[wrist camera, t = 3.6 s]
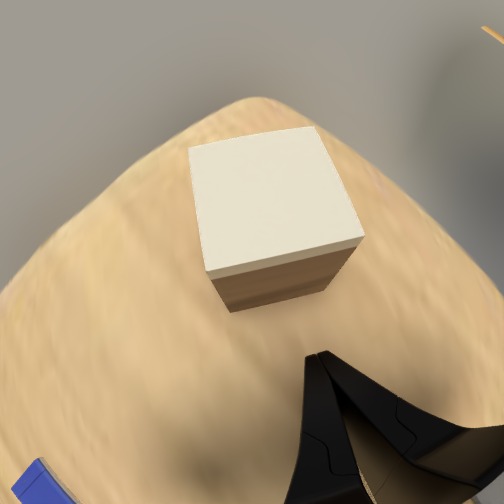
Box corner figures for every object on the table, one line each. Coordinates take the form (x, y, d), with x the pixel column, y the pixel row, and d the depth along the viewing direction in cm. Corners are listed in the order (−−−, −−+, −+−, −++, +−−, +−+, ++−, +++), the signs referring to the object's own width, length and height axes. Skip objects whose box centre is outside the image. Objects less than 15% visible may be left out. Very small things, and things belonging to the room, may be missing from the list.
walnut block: (323, 290, 17) (365, 235, 10) (230, 312, 17) (205, 271, 10) (297, 210, 20) (313, 126, 12) (213, 227, 19) (187, 147, 12)
